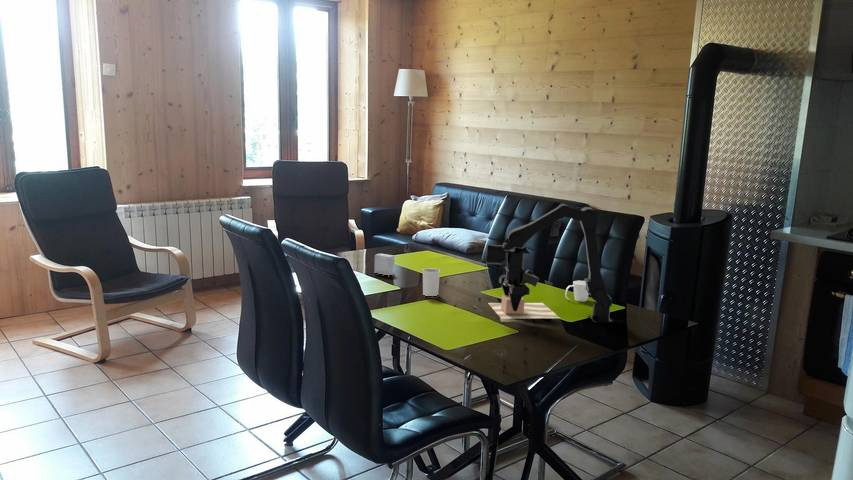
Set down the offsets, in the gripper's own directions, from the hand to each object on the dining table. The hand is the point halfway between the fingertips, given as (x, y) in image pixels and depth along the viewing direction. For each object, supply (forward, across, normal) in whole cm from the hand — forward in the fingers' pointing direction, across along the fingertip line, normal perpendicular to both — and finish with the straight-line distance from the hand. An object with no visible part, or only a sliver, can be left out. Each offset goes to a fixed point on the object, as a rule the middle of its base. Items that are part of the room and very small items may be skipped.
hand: (512, 308), depth 239 cm
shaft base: (+3, +2, -5) cm, 6 cm away
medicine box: (+3, +64, +40) cm, 76 cm away
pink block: (+1, 0, 0) cm, 1 cm away
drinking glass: (+3, +28, +25) cm, 38 cm away
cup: (+3, +16, -30) cm, 34 cm away
